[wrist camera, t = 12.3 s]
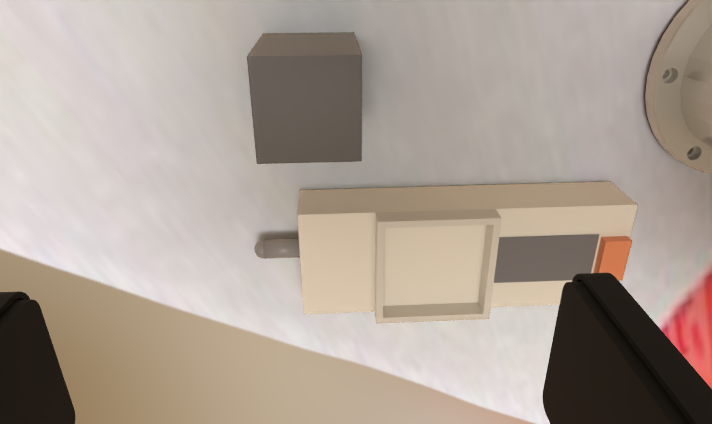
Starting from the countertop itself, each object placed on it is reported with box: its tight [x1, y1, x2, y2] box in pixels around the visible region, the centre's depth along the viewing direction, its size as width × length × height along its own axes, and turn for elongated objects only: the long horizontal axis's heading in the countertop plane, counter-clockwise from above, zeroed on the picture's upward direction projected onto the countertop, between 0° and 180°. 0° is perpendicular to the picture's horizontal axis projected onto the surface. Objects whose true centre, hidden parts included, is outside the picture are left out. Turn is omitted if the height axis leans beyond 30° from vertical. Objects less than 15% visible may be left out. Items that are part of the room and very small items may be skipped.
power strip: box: [255, 181, 638, 323], centre depth 34 cm, size 23×7×5 cm, turn 90°
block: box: [247, 32, 362, 164], centre depth 28 cm, size 5×5×7 cm
